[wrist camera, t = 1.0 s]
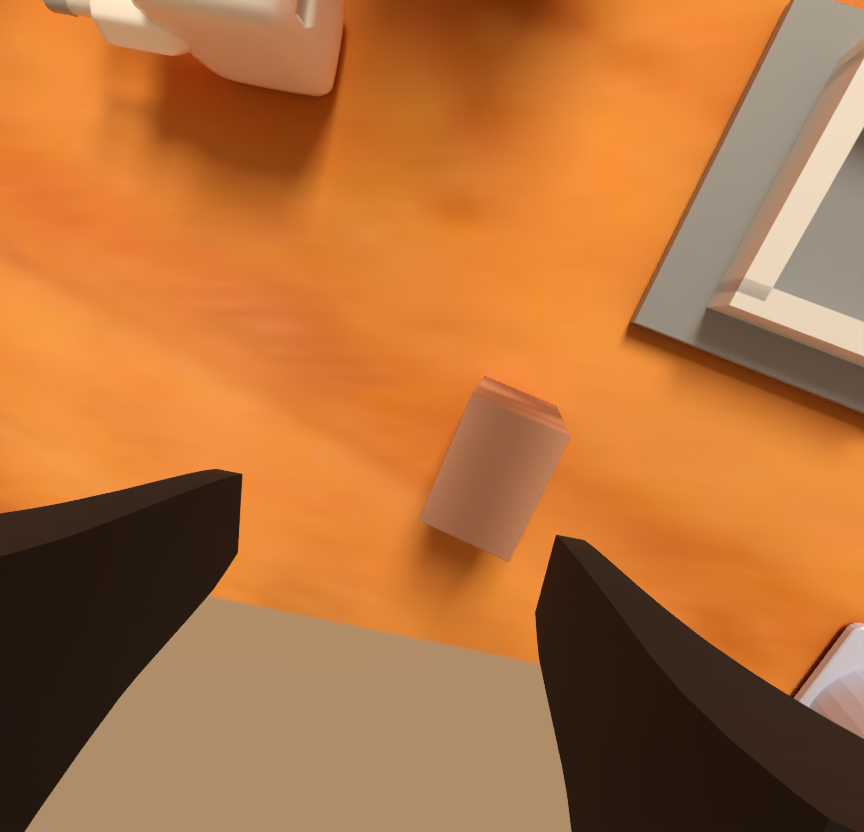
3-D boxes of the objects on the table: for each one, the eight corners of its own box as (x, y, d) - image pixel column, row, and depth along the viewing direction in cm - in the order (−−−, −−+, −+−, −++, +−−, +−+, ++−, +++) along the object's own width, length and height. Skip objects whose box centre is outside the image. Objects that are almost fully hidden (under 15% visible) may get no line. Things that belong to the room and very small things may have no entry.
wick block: (556, 405, 21) (570, 436, 15) (511, 499, 22) (508, 562, 16) (485, 376, 21) (471, 394, 15) (444, 470, 22) (418, 520, 16)
